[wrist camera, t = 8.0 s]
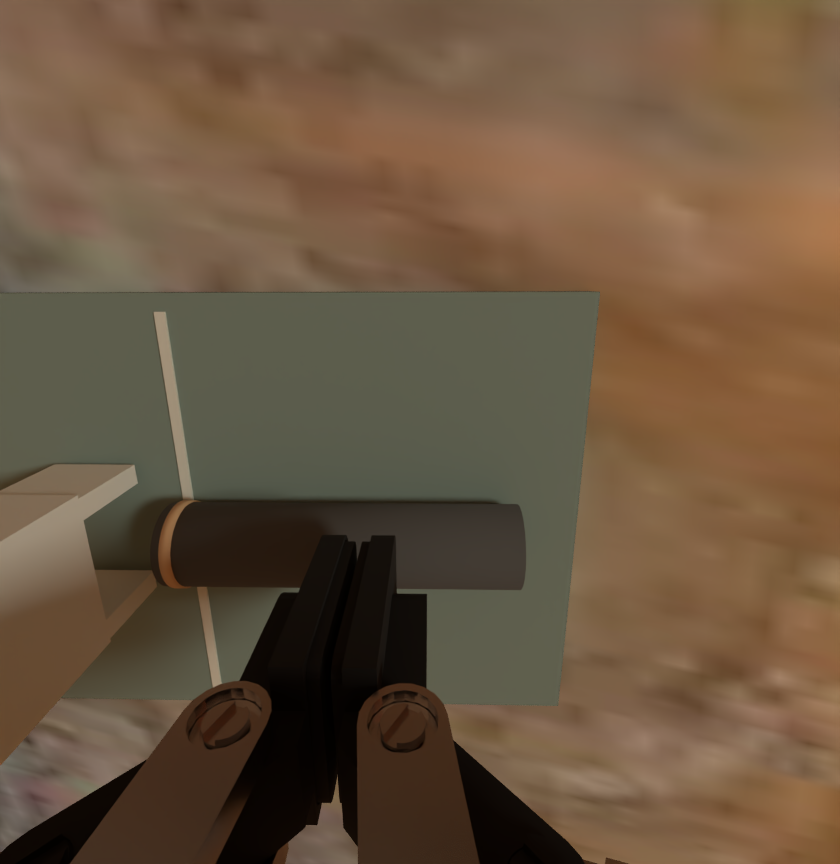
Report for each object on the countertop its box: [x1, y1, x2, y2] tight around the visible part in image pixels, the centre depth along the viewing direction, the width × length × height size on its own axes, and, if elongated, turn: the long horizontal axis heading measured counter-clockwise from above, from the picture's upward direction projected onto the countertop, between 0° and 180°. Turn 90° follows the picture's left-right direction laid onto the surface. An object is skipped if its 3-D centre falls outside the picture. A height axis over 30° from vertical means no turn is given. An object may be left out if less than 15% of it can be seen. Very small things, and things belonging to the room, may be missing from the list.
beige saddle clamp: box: [0, 464, 157, 765], centre depth 11 cm, size 4×2×8 cm, turn 0°
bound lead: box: [150, 500, 526, 590], centre depth 14 cm, size 2×10×2 cm, turn 90°
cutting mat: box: [0, 291, 600, 706], centre depth 16 cm, size 14×20×1 cm
